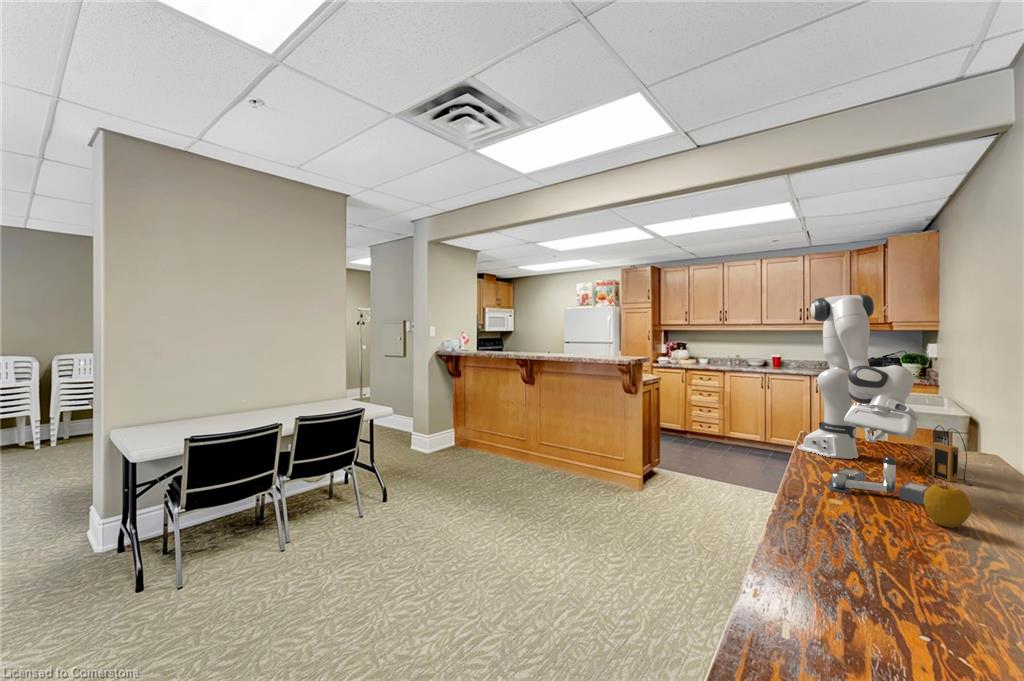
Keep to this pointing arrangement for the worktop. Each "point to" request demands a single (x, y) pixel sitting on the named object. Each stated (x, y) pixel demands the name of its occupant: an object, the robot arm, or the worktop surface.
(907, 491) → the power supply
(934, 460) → the multimeter
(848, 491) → the arm mount
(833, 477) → the grey crank handle
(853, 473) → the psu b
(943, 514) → the apple
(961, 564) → the worktop surface
